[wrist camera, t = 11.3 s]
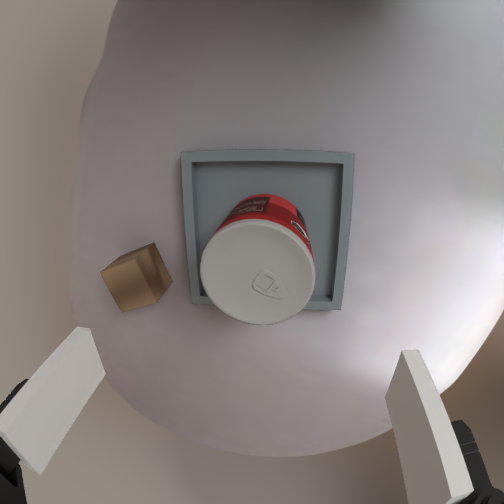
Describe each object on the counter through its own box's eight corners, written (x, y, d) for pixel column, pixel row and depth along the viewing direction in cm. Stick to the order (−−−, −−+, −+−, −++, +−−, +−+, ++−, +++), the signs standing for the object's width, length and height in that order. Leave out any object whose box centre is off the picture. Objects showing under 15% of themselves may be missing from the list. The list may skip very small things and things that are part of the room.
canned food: (292, 275, 32) (292, 339, 22) (219, 252, 32) (188, 305, 22) (318, 207, 29) (334, 245, 19) (239, 181, 29) (213, 205, 19)
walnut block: (121, 255, 34) (99, 272, 30) (154, 242, 33) (134, 258, 29) (139, 291, 36) (121, 312, 31) (172, 281, 35) (157, 302, 30)
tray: (187, 151, 29) (180, 152, 27) (350, 152, 28) (354, 153, 26) (196, 295, 35) (191, 303, 33) (337, 300, 33) (340, 310, 31)
